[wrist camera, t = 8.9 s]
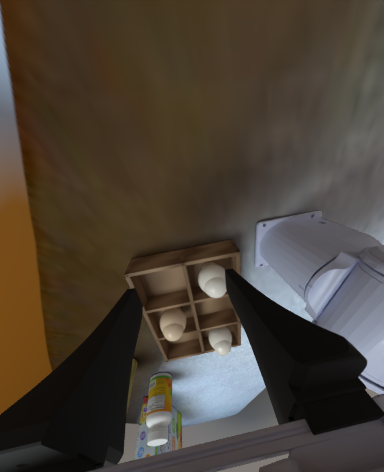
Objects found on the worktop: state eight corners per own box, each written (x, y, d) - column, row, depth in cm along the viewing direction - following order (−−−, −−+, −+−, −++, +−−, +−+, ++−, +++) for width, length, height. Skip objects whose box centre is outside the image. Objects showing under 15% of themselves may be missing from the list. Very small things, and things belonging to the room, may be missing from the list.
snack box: (141, 396, 40) (124, 513, 27) (160, 391, 40) (153, 505, 27) (166, 418, 50) (164, 512, 36) (182, 414, 50) (185, 506, 36)
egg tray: (231, 239, 21) (240, 251, 18) (234, 328, 31) (240, 345, 28) (131, 259, 21) (124, 274, 18) (166, 342, 30) (165, 361, 27)
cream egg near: (222, 254, 21) (235, 278, 17) (223, 276, 23) (235, 302, 18) (193, 260, 21) (199, 285, 16) (197, 281, 23) (203, 309, 18)
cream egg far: (226, 315, 27) (236, 344, 23) (227, 328, 29) (237, 358, 25) (205, 320, 27) (211, 350, 23) (207, 333, 29) (213, 363, 25)
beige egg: (183, 297, 24) (185, 327, 20) (187, 314, 26) (190, 344, 21) (158, 302, 24) (154, 334, 19) (164, 318, 26) (162, 350, 21)
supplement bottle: (172, 380, 38) (172, 444, 29) (151, 383, 37) (145, 449, 29) (171, 370, 36) (171, 436, 27) (149, 373, 35) (141, 441, 26)
